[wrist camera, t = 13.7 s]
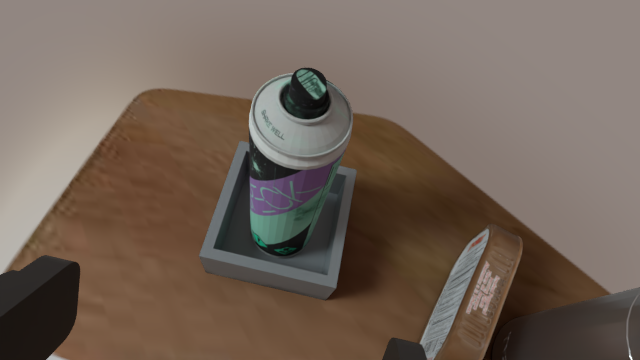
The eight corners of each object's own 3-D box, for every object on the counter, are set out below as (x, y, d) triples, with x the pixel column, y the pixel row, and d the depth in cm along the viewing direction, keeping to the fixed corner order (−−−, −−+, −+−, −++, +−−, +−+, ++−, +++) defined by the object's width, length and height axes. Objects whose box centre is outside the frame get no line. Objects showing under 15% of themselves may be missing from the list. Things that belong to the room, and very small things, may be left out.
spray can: (262, 193, 37) (271, 23, 19) (318, 212, 37) (377, 58, 19) (241, 247, 34) (229, 107, 17) (301, 267, 34) (351, 146, 17)
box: (345, 193, 40) (356, 169, 35) (325, 300, 35) (336, 288, 30) (241, 168, 39) (239, 140, 35) (205, 272, 34) (199, 255, 30)
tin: (424, 405, 32) (476, 412, 25) (390, 381, 32) (431, 381, 25) (486, 255, 39) (541, 225, 31) (458, 237, 39) (506, 204, 32)
